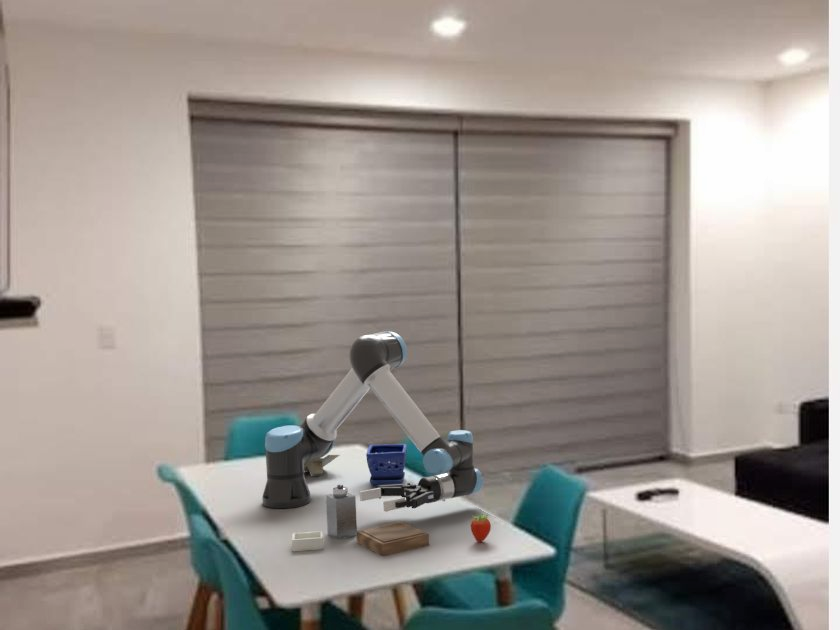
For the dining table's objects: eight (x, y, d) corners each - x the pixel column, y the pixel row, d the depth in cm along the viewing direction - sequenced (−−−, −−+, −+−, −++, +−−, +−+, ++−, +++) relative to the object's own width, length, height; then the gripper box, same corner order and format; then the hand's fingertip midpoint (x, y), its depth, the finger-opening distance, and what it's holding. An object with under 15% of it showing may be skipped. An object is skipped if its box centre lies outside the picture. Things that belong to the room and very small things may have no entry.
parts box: (292, 551, 231) (292, 540, 231) (293, 544, 237) (292, 533, 237) (323, 549, 232) (322, 537, 232) (322, 542, 238) (322, 531, 238)
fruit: (478, 537, 237) (477, 508, 236) (494, 540, 233) (493, 511, 233) (466, 542, 233) (465, 513, 232) (483, 546, 229) (482, 516, 229)
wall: (286, 490, 310) (303, 467, 301) (280, 468, 315) (297, 445, 306) (327, 489, 320) (345, 467, 311) (321, 468, 324) (338, 446, 316)
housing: (327, 534, 245) (325, 485, 244) (346, 530, 248) (344, 481, 247) (337, 539, 240) (335, 489, 239) (357, 535, 243) (355, 485, 242)
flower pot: (406, 487, 293) (405, 451, 292) (367, 488, 293) (365, 452, 292) (408, 477, 306) (406, 443, 305) (370, 478, 306) (368, 444, 306)
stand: (357, 542, 236) (356, 530, 236) (401, 532, 244) (401, 520, 244) (383, 556, 225) (382, 543, 224) (429, 544, 232) (428, 532, 232)
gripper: (459, 510, 249) (395, 524, 238) (413, 492, 270) (352, 505, 259) (458, 484, 249) (394, 497, 238) (412, 468, 270) (350, 479, 259)
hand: (372, 501), depth 248 cm, fingers open, 13 cm apart
